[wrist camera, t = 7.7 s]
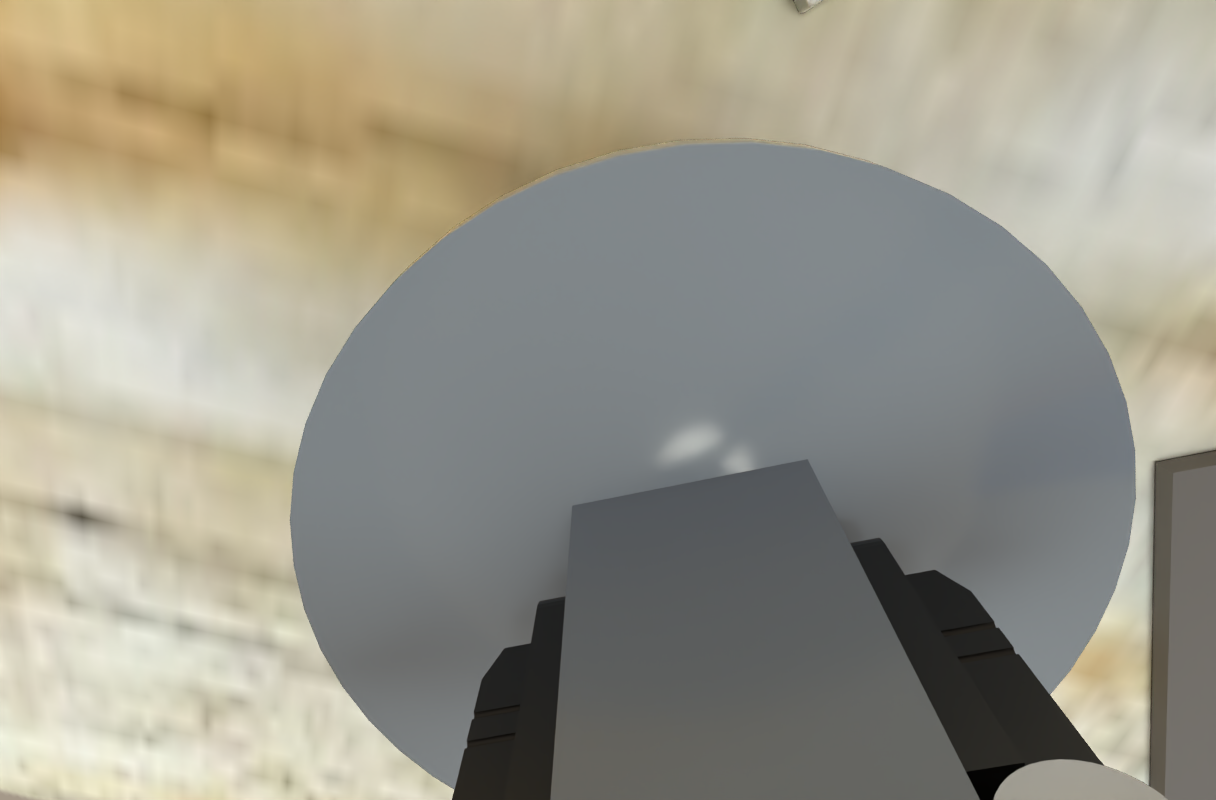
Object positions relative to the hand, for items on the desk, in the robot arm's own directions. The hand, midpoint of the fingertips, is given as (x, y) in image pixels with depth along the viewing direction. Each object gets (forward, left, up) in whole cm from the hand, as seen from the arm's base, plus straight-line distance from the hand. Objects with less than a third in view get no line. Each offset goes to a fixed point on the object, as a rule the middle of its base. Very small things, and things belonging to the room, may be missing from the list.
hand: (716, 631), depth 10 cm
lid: (0, 0, -1) cm, 2 cm away
